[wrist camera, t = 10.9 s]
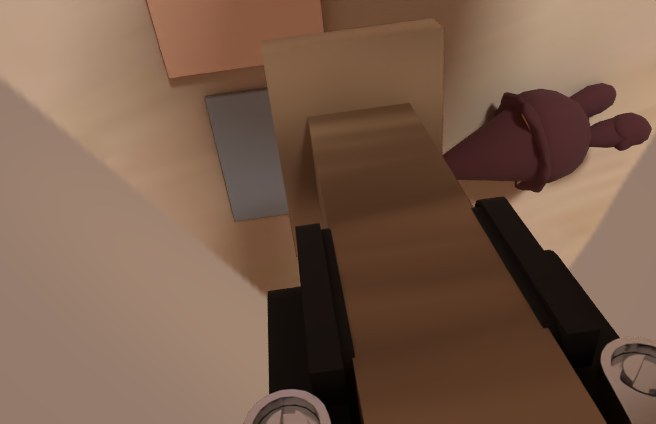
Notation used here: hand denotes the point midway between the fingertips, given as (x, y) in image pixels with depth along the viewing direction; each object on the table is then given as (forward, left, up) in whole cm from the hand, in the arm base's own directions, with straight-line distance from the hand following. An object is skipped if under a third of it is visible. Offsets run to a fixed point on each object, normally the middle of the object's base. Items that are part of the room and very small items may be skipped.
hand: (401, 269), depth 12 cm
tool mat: (+10, -3, -26) cm, 28 cm away
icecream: (+10, +13, -26) cm, 31 cm away
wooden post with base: (0, 0, -7) cm, 7 cm away
